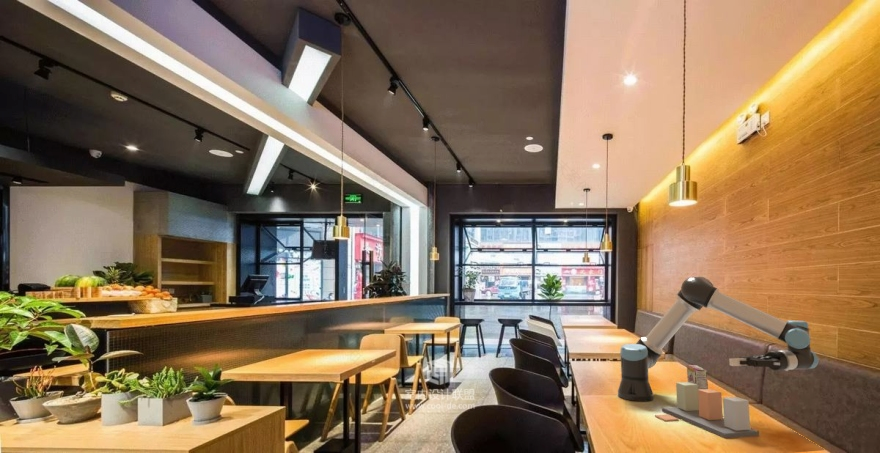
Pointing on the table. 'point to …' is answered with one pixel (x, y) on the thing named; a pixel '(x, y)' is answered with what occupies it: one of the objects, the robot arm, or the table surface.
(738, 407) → the light grey block
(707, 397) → the terracotta key
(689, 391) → the sage green block
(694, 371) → the candy bar box
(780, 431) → the table surface
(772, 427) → the table surface
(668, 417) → the terracotta tile
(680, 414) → the charcoal key base
